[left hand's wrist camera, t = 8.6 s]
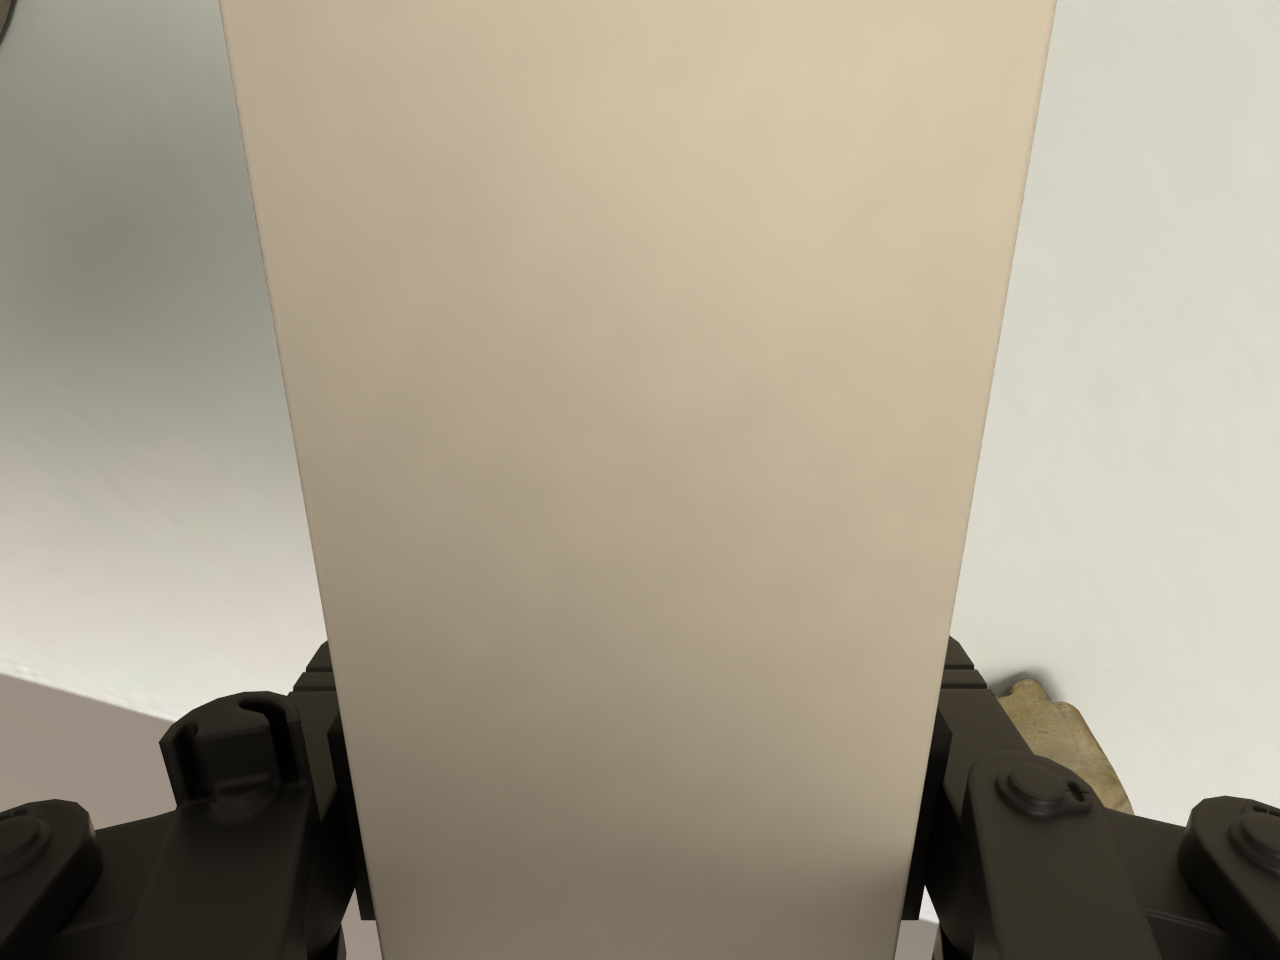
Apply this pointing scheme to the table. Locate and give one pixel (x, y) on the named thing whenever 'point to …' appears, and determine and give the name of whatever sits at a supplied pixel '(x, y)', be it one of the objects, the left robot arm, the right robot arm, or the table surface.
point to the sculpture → (1064, 740)
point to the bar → (638, 441)
